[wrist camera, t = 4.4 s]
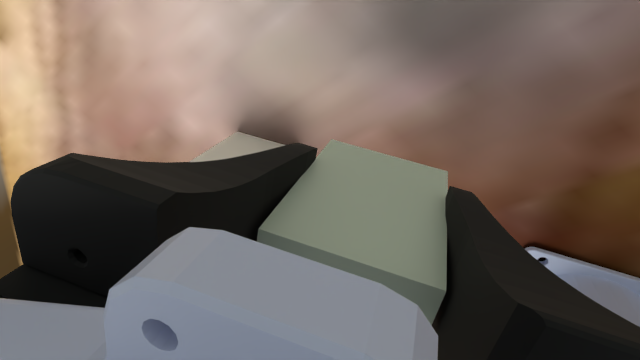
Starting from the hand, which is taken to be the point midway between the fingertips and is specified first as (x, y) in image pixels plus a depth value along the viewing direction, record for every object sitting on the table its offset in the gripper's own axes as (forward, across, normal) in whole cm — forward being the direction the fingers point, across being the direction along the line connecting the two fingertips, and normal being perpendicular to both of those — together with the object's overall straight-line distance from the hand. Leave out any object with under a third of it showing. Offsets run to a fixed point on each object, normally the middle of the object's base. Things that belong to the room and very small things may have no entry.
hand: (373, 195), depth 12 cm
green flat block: (+2, 0, 0) cm, 2 cm away
